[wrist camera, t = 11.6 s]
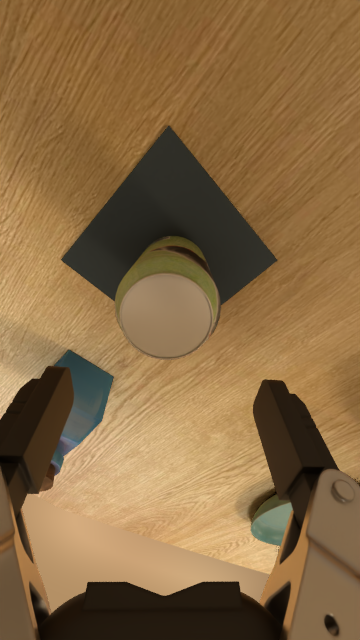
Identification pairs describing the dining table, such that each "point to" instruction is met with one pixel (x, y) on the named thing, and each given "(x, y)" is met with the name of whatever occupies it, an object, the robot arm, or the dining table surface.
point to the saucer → (271, 520)
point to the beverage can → (168, 300)
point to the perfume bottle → (80, 408)
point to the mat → (169, 223)
